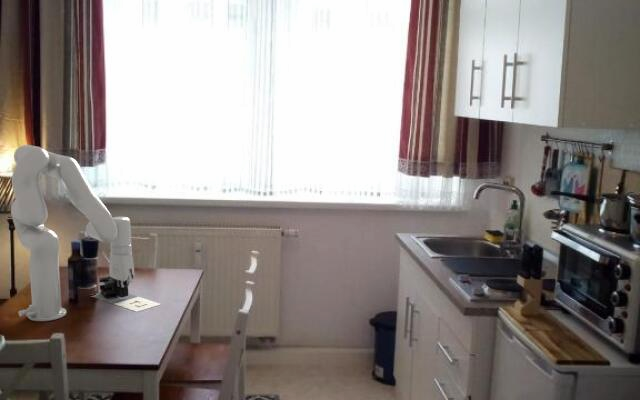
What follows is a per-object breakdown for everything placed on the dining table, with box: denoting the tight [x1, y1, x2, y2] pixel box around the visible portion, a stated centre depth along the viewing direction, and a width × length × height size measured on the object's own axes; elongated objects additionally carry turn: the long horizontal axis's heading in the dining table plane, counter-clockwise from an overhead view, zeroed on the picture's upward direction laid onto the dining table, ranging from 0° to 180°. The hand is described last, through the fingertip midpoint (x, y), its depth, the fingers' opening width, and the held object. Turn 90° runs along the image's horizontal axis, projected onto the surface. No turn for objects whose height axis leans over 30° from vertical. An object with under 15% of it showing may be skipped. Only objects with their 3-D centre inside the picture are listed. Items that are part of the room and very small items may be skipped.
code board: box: [114, 296, 162, 313], centre depth 249 cm, size 11×14×1 cm
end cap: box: [99, 274, 119, 299], centre depth 260 cm, size 10×7×7 cm
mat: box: [91, 292, 138, 305], centre depth 258 cm, size 11×16×1 cm
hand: (123, 296), depth 254 cm, fingers closed
